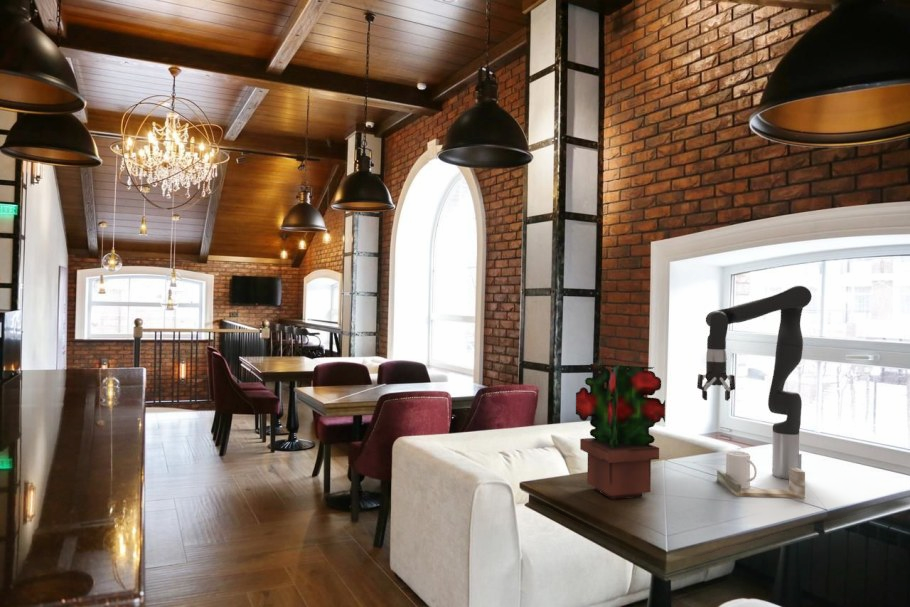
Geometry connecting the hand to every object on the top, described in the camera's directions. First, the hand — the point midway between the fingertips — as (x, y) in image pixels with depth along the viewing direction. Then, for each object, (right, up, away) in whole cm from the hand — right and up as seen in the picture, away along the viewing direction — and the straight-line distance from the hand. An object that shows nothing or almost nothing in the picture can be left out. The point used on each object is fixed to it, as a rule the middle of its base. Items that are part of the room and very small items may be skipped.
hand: (715, 400), depth 251 cm
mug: (-1, -28, -24) cm, 37 cm away
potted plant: (-48, -28, -33) cm, 65 cm away
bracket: (+4, -28, -27) cm, 39 cm away
